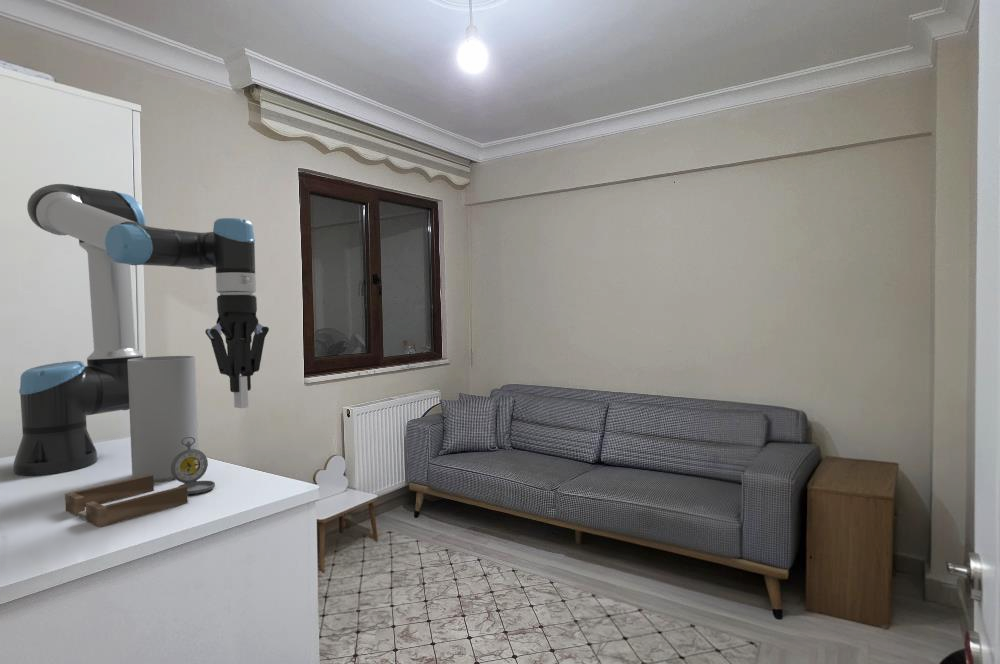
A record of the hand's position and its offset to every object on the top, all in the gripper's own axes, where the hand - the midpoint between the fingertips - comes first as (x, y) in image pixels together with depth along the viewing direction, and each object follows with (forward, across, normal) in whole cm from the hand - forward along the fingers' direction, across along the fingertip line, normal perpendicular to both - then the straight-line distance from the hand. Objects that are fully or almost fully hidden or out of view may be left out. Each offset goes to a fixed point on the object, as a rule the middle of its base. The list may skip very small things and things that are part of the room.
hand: (241, 407), depth 123 cm
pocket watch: (+15, -10, 0) cm, 18 cm away
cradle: (+15, -22, 0) cm, 27 cm away
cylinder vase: (+15, -8, +16) cm, 24 cm away
